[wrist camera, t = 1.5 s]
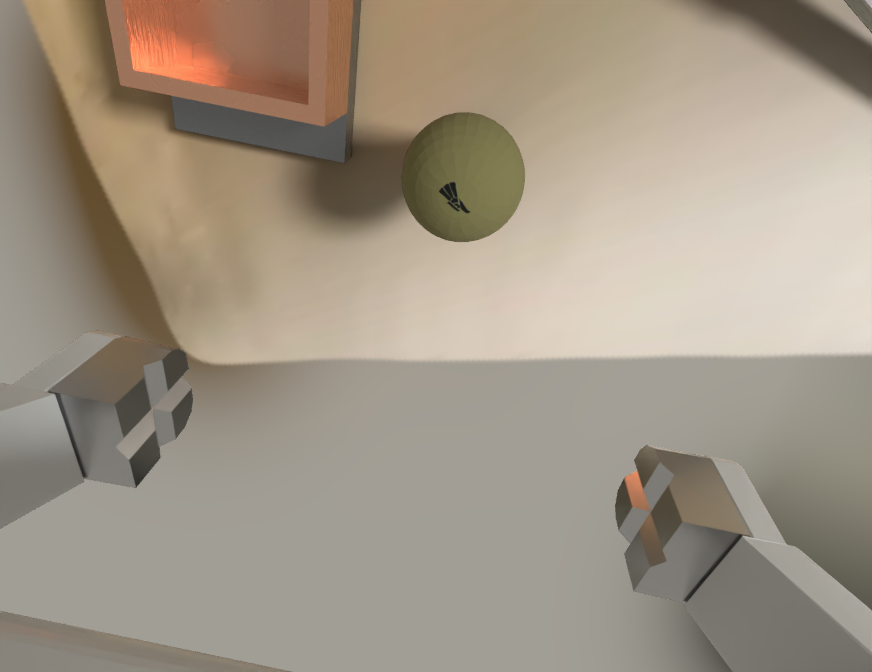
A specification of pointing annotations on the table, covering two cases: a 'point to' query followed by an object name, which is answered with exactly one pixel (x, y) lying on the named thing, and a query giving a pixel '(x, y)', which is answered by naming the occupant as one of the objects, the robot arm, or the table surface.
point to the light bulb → (463, 177)
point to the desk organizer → (247, 67)
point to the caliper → (862, 11)
